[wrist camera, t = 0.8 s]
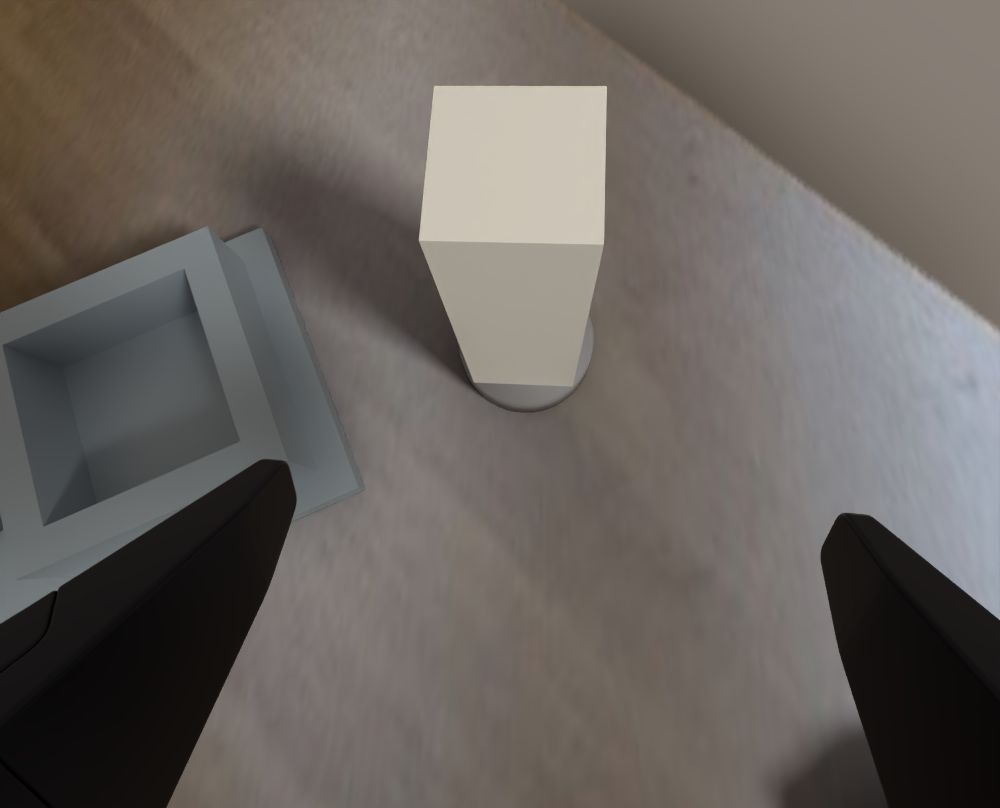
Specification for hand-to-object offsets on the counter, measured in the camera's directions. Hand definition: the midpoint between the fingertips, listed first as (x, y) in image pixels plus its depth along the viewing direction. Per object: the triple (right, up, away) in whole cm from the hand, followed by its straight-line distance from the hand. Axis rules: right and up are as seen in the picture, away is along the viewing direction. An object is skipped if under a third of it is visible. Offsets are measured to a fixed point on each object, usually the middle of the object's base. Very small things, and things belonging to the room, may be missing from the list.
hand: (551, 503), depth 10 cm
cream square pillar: (0, +4, +16) cm, 17 cm away
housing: (-17, 0, +16) cm, 24 cm away
